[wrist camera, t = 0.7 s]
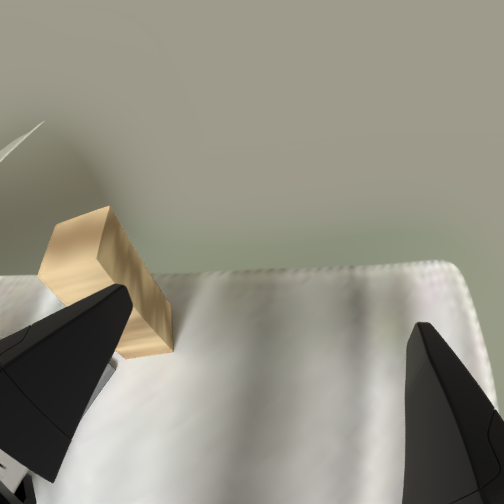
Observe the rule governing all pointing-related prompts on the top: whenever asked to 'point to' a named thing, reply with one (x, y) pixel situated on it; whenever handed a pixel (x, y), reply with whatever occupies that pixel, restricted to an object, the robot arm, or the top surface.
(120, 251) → the oak block
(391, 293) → the top surface
